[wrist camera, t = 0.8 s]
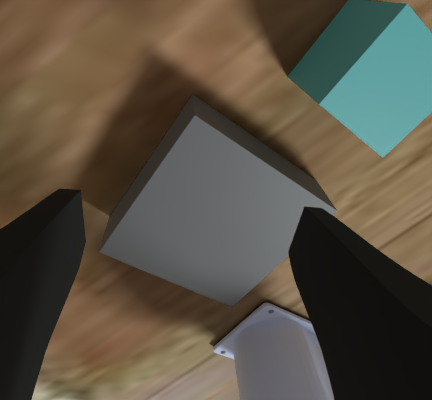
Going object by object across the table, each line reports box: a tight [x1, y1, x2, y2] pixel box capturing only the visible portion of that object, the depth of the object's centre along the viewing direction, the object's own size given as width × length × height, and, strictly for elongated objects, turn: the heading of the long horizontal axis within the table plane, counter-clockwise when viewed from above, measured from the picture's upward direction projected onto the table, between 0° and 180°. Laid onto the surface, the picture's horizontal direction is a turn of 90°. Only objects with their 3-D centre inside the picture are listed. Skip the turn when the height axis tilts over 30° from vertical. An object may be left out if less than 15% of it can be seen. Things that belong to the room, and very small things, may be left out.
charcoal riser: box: [99, 94, 337, 307], centre depth 20 cm, size 10×10×4 cm
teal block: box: [287, 0, 432, 157], centre depth 16 cm, size 4×4×5 cm
